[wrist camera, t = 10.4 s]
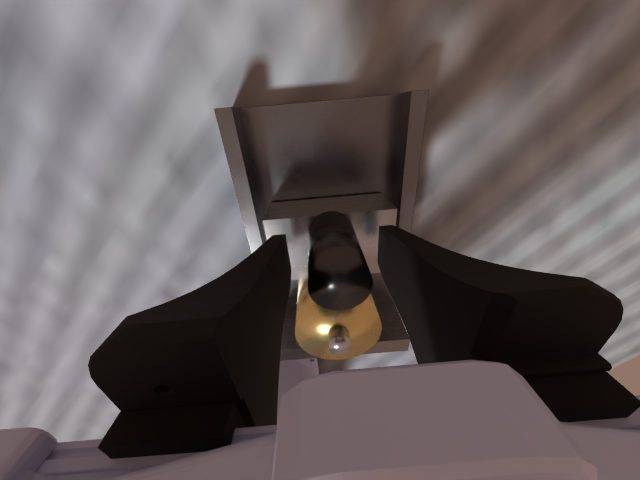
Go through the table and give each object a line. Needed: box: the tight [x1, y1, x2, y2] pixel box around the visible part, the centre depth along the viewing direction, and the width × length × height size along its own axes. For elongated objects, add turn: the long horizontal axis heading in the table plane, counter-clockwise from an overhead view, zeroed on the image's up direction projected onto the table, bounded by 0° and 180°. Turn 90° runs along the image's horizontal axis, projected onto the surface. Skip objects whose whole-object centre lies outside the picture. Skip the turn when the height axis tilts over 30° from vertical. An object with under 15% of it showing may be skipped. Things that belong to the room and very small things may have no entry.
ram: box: [263, 193, 397, 311], centre depth 12 cm, size 4×7×7 cm, turn 94°
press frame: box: [214, 90, 429, 361], centre depth 15 cm, size 16×10×4 cm, turn 4°
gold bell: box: [295, 279, 382, 360], centre depth 15 cm, size 5×5×6 cm
